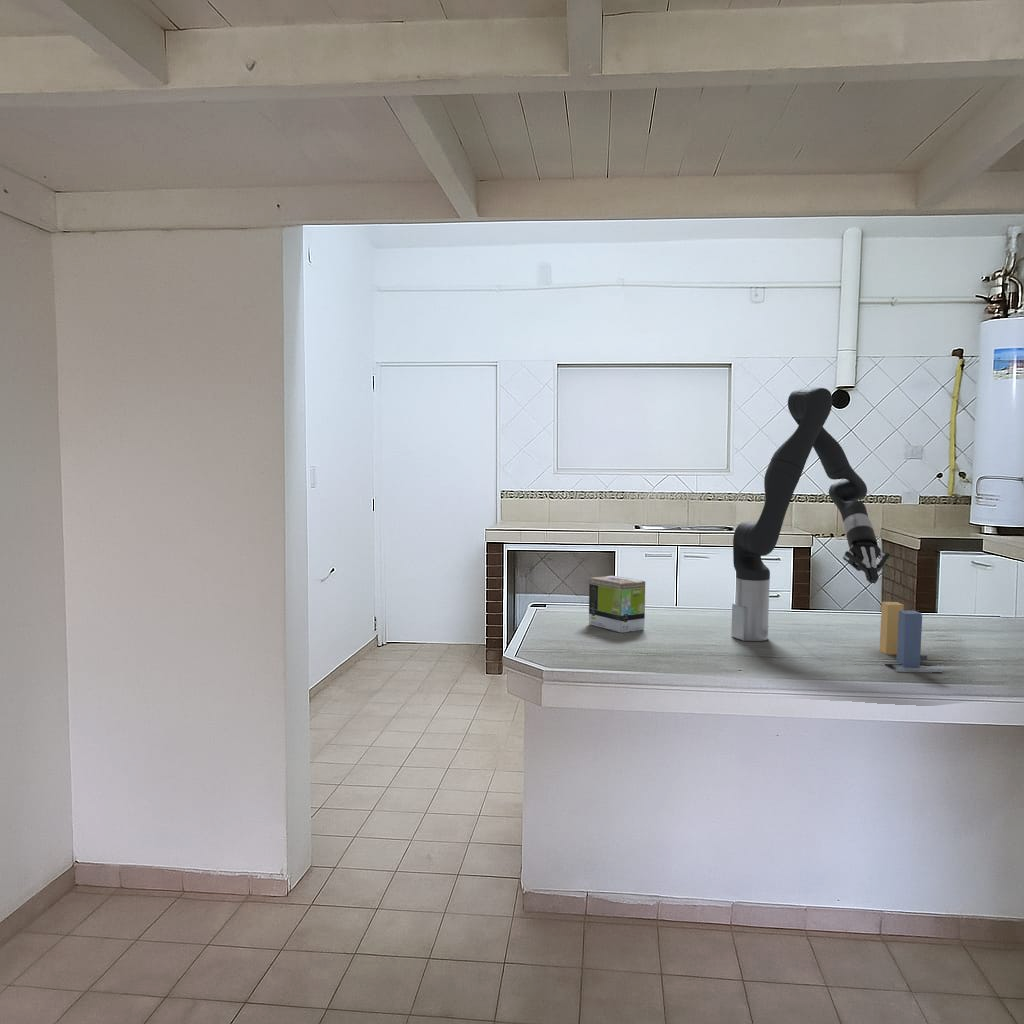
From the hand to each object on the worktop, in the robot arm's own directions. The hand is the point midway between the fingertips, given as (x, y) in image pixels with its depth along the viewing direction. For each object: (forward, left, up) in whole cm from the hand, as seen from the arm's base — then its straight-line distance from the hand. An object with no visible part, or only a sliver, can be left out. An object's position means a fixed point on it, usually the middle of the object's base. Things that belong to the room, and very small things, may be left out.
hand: (873, 581), depth 230 cm
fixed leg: (-7, -22, -17) cm, 29 cm away
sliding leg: (-3, -12, -17) cm, 21 cm away
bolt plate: (-4, -14, -18) cm, 23 cm away
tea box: (-58, +41, -18) cm, 73 cm away
